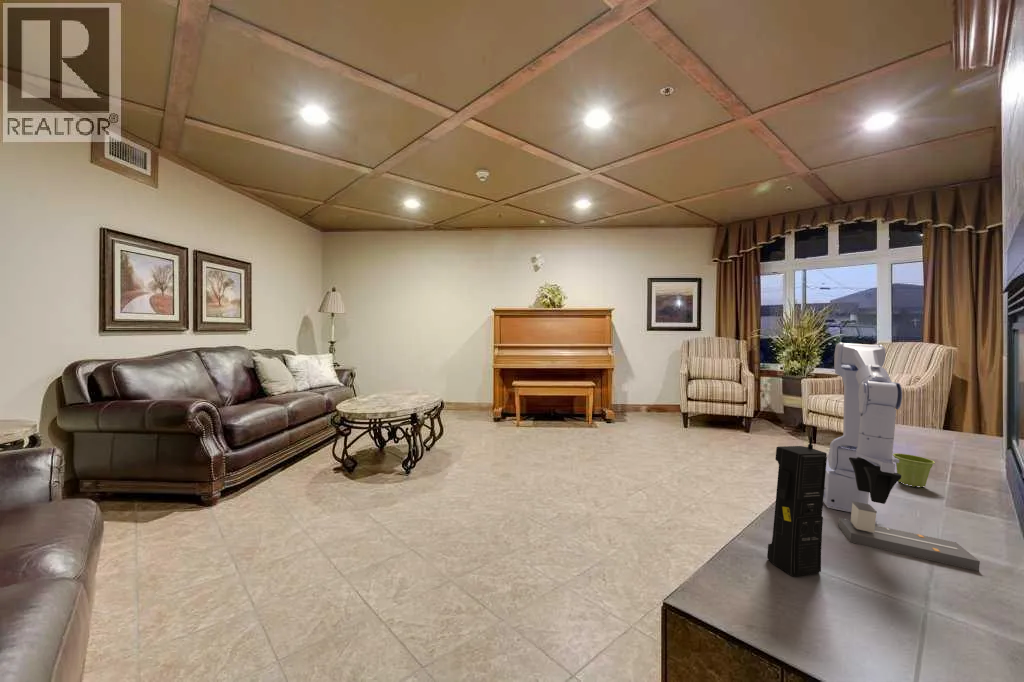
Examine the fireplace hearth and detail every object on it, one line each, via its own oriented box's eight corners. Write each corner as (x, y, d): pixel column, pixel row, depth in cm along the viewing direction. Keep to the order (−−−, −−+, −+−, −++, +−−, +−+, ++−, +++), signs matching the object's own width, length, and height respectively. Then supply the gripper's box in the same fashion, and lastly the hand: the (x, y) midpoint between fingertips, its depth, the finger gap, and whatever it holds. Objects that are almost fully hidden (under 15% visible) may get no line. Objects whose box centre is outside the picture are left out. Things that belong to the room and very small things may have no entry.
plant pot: (883, 479, 129) (885, 453, 128) (902, 478, 132) (904, 452, 131) (920, 491, 120) (922, 463, 119) (939, 489, 123) (942, 462, 122)
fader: (856, 529, 87) (858, 508, 87) (850, 521, 91) (852, 501, 91) (874, 533, 86) (876, 511, 86) (867, 524, 90) (869, 504, 90)
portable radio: (790, 579, 71) (802, 443, 70) (761, 560, 77) (772, 433, 76) (823, 575, 73) (835, 442, 72) (792, 556, 79) (803, 433, 78)
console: (850, 541, 86) (851, 532, 86) (838, 526, 94) (839, 517, 94) (978, 571, 78) (979, 560, 78) (955, 551, 85) (956, 541, 85)
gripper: (916, 445, 80) (911, 513, 80) (885, 432, 93) (880, 490, 93) (871, 439, 82) (866, 504, 83) (847, 427, 96) (842, 483, 96)
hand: (870, 496), depth 88 cm, fingers open, 7 cm apart
